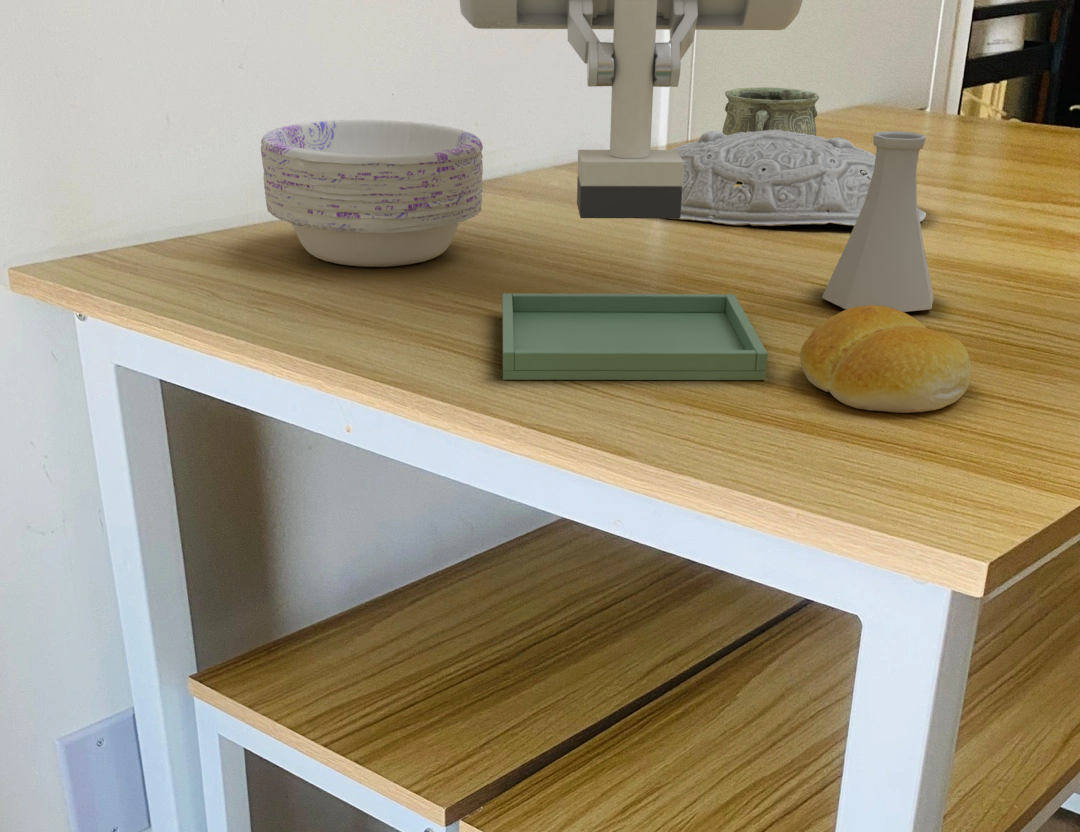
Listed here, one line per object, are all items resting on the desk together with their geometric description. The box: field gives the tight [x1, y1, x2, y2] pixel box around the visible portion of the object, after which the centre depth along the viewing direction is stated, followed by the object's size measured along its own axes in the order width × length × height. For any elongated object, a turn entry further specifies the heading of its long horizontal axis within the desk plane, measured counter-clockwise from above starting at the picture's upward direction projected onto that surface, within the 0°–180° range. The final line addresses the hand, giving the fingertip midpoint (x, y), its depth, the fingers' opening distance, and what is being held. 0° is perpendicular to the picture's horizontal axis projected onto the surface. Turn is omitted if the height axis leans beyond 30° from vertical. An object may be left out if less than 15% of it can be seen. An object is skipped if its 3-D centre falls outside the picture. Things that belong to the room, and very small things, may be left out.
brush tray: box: [501, 292, 769, 381], centre depth 79 cm, size 14×12×2 cm
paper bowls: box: [260, 119, 484, 268], centre depth 96 cm, size 15×15×8 cm
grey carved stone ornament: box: [668, 130, 927, 227], centre depth 111 cm, size 16×25×7 cm, turn 73°
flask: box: [821, 130, 934, 313], centre depth 85 cm, size 7×7×10 cm
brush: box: [576, 0, 684, 219], centre depth 80 cm, size 6×4×13 cm, turn 91°
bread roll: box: [799, 305, 972, 414], centre depth 72 cm, size 8×9×4 cm
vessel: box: [722, 86, 820, 136], centre depth 128 cm, size 12×9×6 cm
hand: (634, 80), depth 79 cm, fingers closed on brush, 2 cm apart
